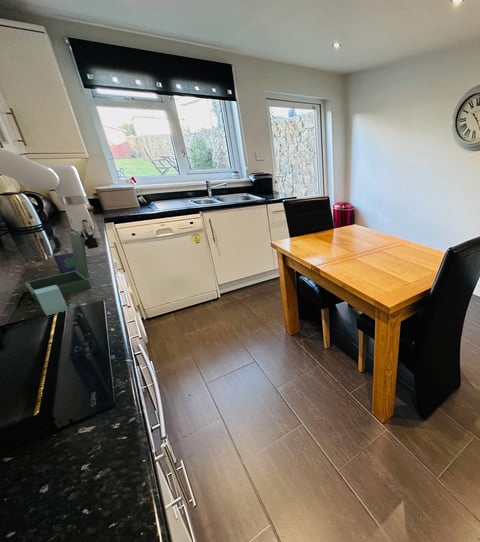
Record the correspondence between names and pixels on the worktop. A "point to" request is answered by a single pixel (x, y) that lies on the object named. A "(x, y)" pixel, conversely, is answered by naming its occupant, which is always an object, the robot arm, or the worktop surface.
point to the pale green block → (51, 300)
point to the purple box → (65, 261)
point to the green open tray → (60, 283)
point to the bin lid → (79, 254)
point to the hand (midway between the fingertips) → (90, 246)
